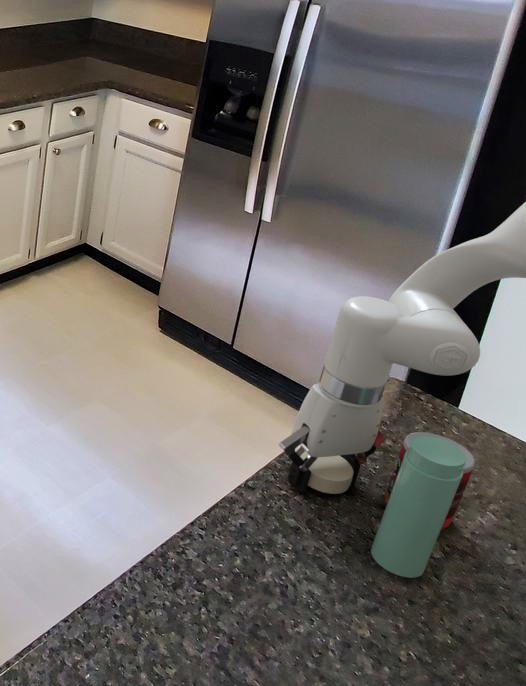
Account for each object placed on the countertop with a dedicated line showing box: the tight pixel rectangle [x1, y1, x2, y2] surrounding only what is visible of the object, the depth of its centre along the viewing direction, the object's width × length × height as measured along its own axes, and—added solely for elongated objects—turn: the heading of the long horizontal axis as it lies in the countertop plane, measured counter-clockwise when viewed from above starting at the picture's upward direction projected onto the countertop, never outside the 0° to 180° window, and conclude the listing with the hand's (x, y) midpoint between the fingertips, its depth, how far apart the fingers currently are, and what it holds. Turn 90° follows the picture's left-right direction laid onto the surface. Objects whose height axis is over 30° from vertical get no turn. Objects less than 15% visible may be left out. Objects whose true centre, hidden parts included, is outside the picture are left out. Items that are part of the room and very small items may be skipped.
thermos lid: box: [300, 451, 353, 495], centre depth 116 cm, size 7×7×2 cm
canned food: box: [384, 431, 476, 531], centre depth 109 cm, size 8×8×11 cm
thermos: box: [370, 436, 466, 579], centre depth 100 cm, size 6×6×18 cm
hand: (320, 482), depth 117 cm, fingers closed on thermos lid, 7 cm apart
